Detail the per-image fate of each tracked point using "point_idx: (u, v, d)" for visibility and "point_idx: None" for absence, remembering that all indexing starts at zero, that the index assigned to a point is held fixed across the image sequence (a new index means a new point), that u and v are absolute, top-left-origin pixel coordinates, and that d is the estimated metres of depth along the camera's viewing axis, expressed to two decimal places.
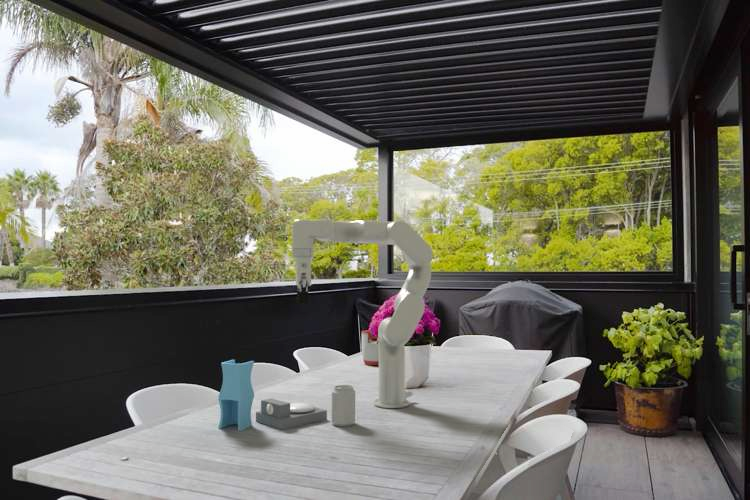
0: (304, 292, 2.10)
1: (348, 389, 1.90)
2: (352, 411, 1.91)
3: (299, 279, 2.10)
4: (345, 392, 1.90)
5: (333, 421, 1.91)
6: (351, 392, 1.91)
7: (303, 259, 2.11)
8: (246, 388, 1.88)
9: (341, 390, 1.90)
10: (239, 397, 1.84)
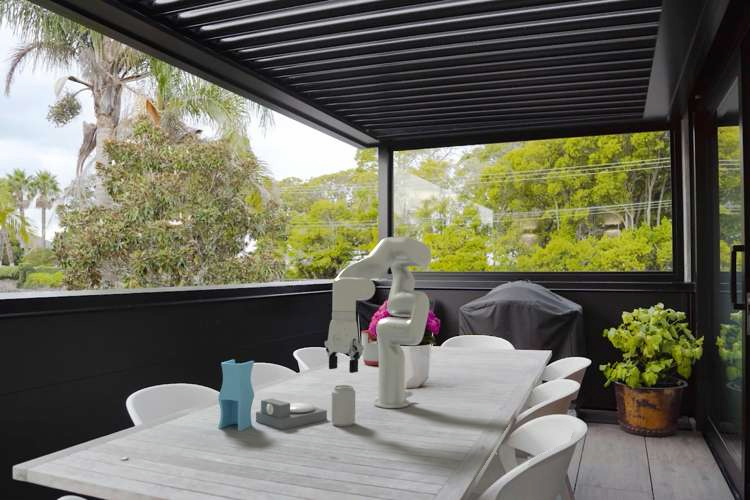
0: None
1: (348, 389, 1.90)
2: (352, 411, 1.91)
3: None
4: (345, 392, 1.90)
5: (333, 421, 1.91)
6: (351, 392, 1.91)
7: None
8: (246, 388, 1.88)
9: (341, 390, 1.90)
10: (239, 397, 1.84)
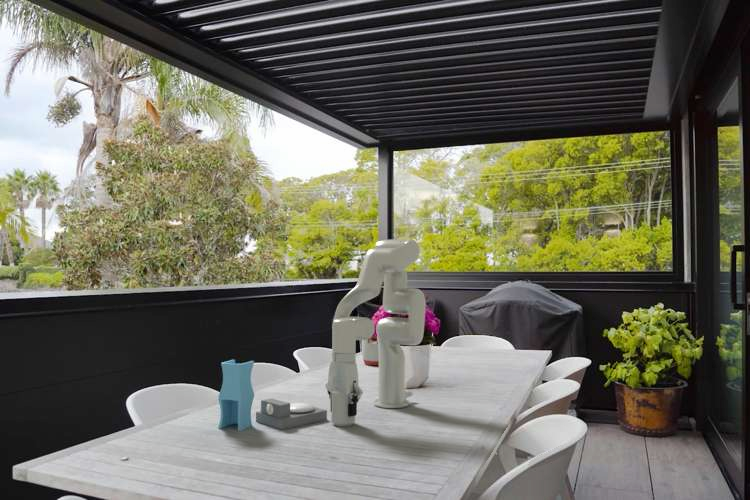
0: None
1: None
2: None
3: None
4: None
5: (333, 421, 1.91)
6: (351, 392, 1.91)
7: None
8: (246, 388, 1.88)
9: None
10: (239, 397, 1.84)
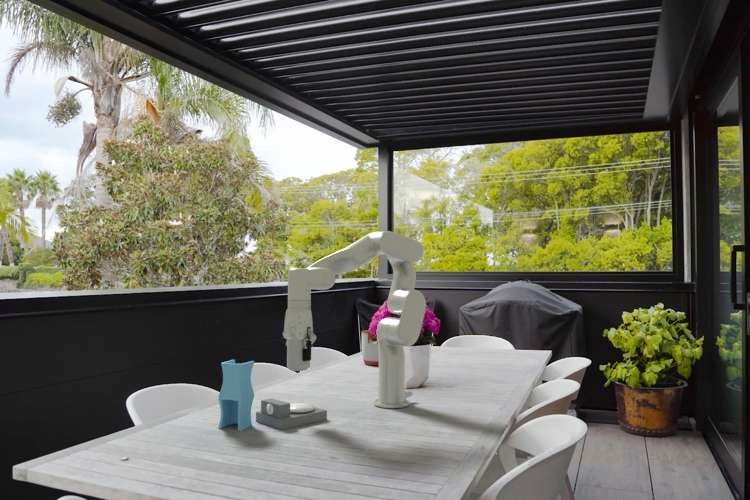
0: None
1: None
2: None
3: None
4: None
5: (288, 366, 1.97)
6: (305, 338, 1.97)
7: None
8: (246, 388, 1.88)
9: None
10: (239, 397, 1.84)
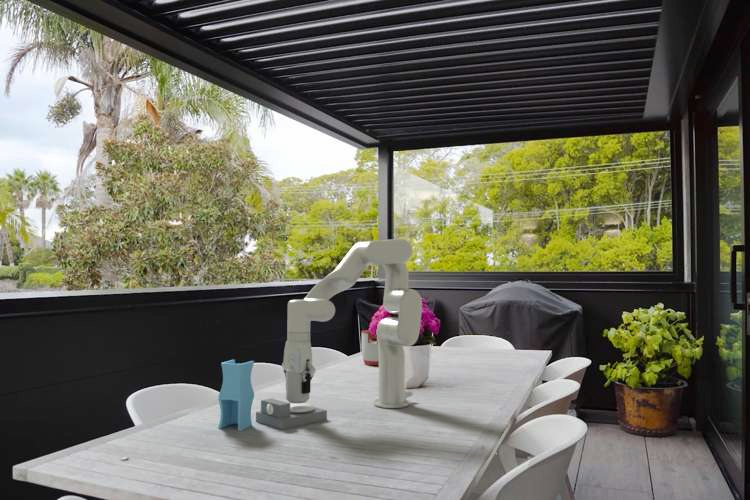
0: None
1: None
2: None
3: None
4: None
5: (287, 398, 1.97)
6: (305, 370, 1.97)
7: None
8: (246, 388, 1.88)
9: None
10: (239, 397, 1.84)
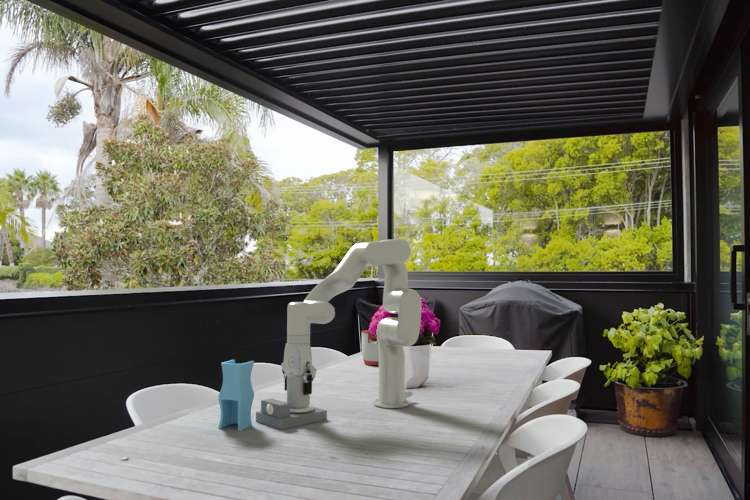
0: None
1: None
2: None
3: None
4: None
5: None
6: None
7: None
8: (246, 388, 1.88)
9: None
10: (239, 397, 1.84)
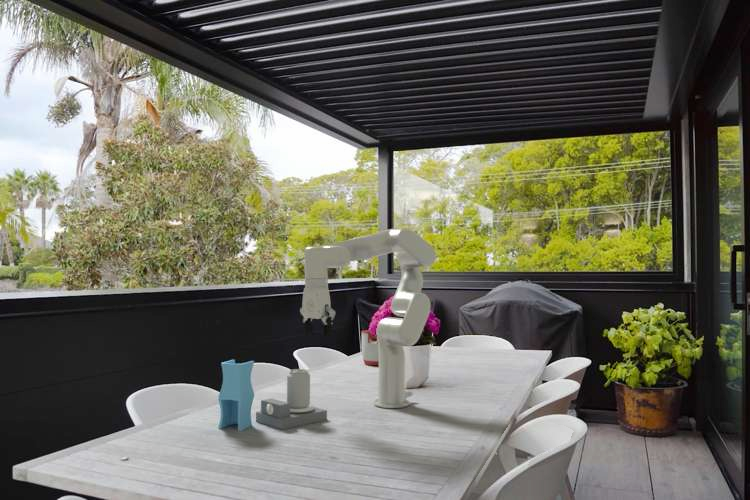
0: None
1: (302, 373, 1.97)
2: (306, 394, 1.97)
3: None
4: (299, 375, 1.96)
5: None
6: (305, 375, 1.97)
7: None
8: (246, 388, 1.88)
9: (295, 373, 1.96)
10: (239, 397, 1.84)
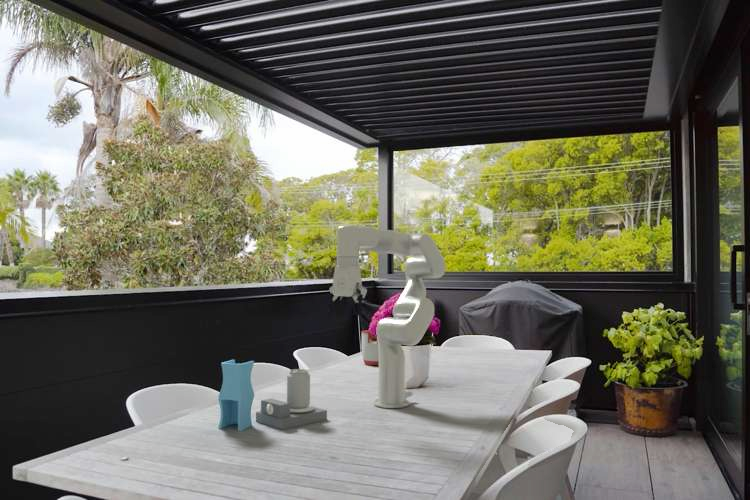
0: None
1: (302, 373, 1.97)
2: (306, 394, 1.97)
3: None
4: (299, 375, 1.96)
5: None
6: (305, 375, 1.97)
7: None
8: (246, 388, 1.88)
9: (295, 373, 1.96)
10: (239, 397, 1.84)
